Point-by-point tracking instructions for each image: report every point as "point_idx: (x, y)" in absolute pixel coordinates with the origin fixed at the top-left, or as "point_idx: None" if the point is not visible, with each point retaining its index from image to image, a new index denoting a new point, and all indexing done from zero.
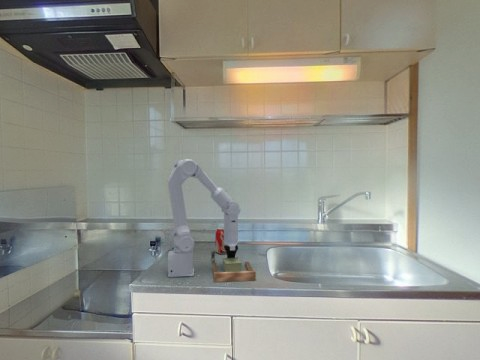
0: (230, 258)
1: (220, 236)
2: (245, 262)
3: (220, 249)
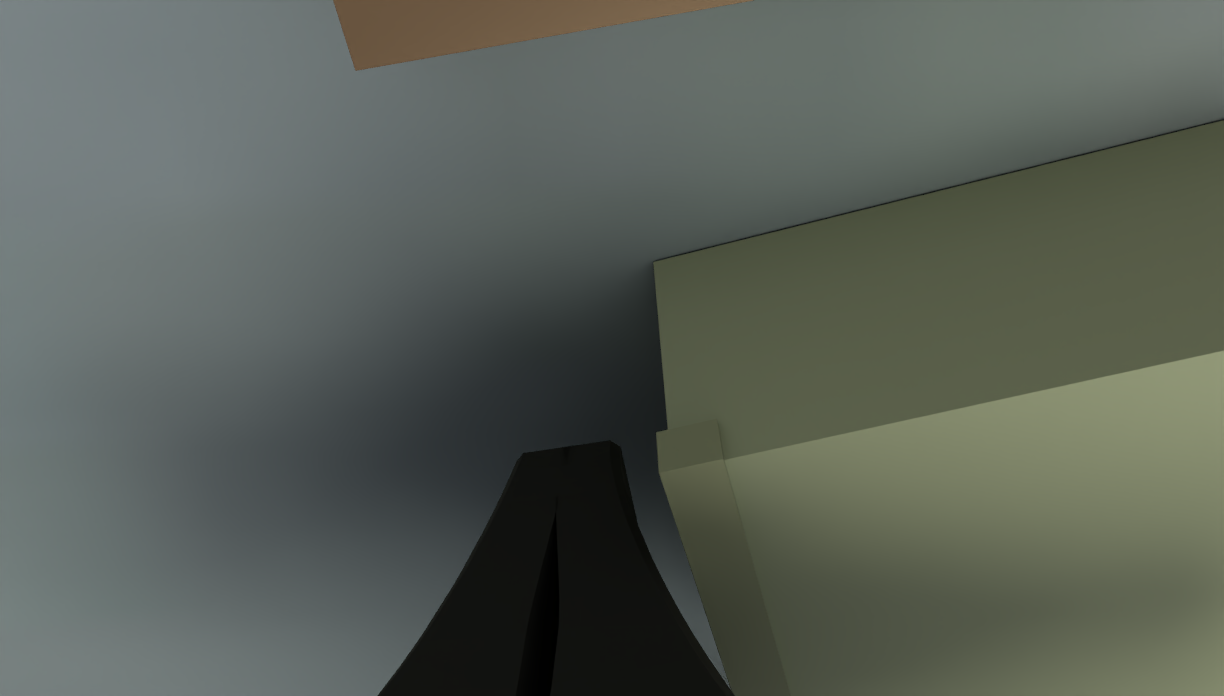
0: (788, 673)
1: None
2: (472, 45)
3: None
